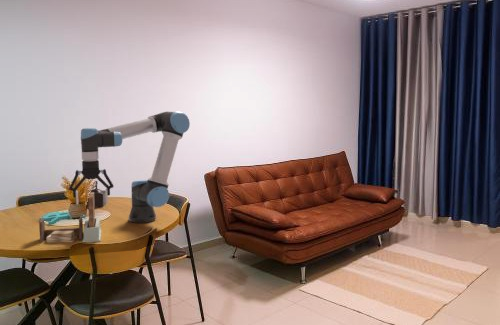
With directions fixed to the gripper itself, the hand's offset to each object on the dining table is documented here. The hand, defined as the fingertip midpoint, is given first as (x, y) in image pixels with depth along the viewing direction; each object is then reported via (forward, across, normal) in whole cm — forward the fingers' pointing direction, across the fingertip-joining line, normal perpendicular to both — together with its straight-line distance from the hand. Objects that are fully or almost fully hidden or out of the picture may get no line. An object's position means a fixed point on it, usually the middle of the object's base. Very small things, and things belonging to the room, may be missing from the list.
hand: (92, 203), depth 196 cm
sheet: (+16, +1, 0) cm, 16 cm away
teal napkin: (+17, +20, -41) cm, 48 cm away
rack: (+16, +14, 0) cm, 22 cm away
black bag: (+17, +2, -68) cm, 70 cm away
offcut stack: (+17, +14, +4) cm, 22 cm away
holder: (+17, +1, 0) cm, 17 cm away
